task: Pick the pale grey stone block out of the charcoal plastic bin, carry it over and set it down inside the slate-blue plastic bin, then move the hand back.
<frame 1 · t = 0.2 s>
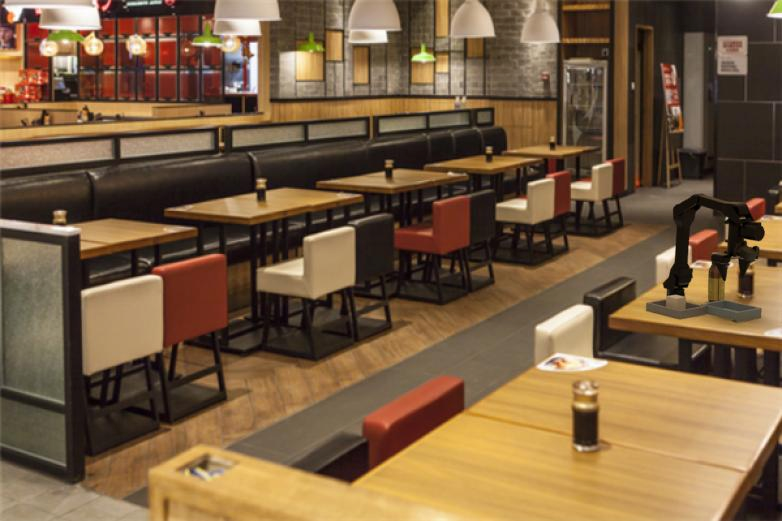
hand: (733, 279, 369), 14 cm above the table, fingers open, 9 cm apart
sauce bottle: (715, 303, 395), on the table
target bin: (730, 315, 375), on the table
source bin: (675, 313, 378), on the table
stone block: (675, 312, 378), point 1 cm above the table, touching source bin
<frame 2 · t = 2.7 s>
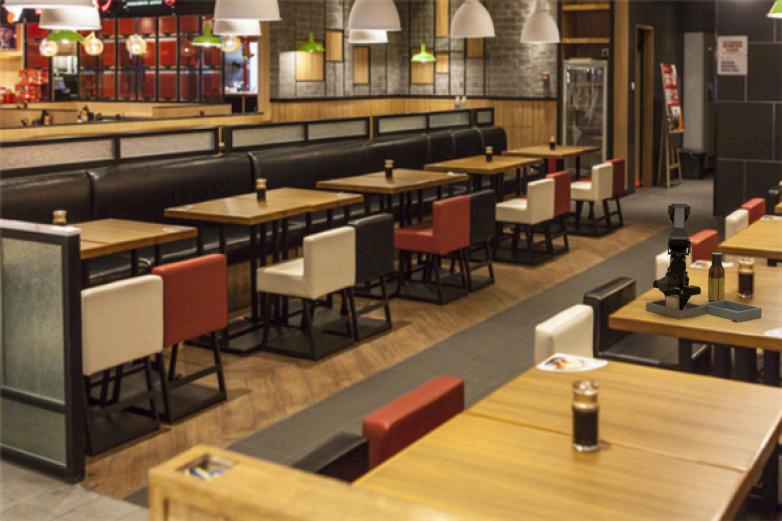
hand: (675, 309, 377), 2 cm above the table, fingers closed on stone block, 5 cm apart
stone block: (675, 312, 378), point 1 cm above the table, touching gripper, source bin
everything else where it was.
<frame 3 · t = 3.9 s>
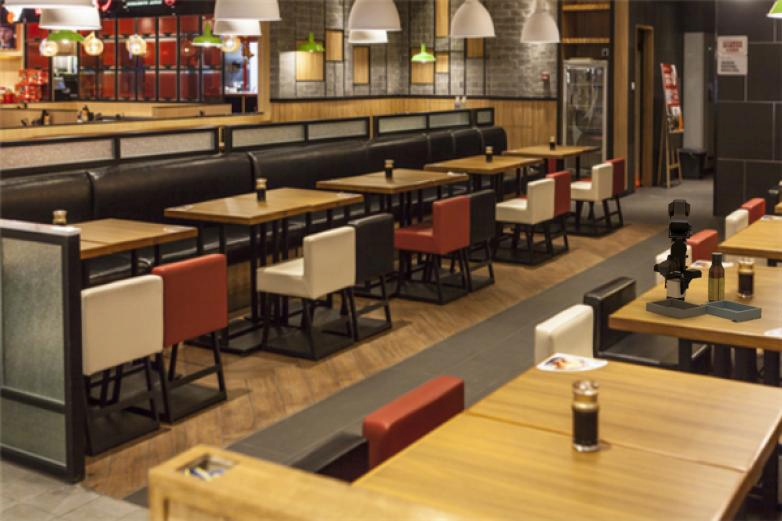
hand: (676, 293, 376), 8 cm above the table, fingers closed on stone block, 5 cm apart
stone block: (676, 296, 376), point 7 cm above the table, touching gripper
everything else where it was.
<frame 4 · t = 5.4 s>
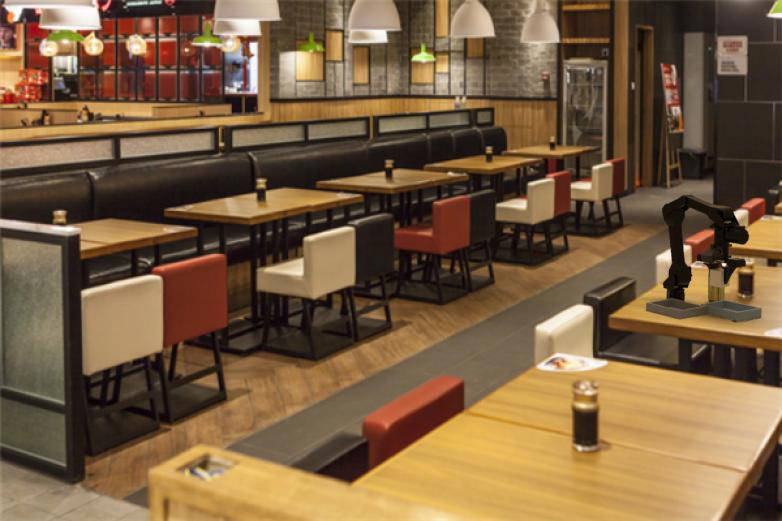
hand: (719, 283, 373), 12 cm above the table, fingers closed on stone block, 5 cm apart
stone block: (719, 285, 373), point 11 cm above the table, touching gripper
everything else where it was.
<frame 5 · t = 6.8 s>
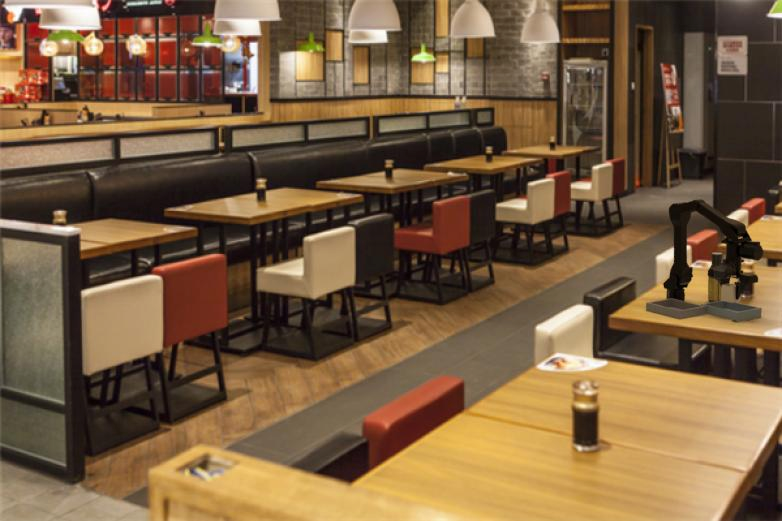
hand: (731, 298, 374), 7 cm above the table, fingers closed on stone block, 5 cm apart
stone block: (730, 300, 374), point 6 cm above the table, touching gripper
everything else where it was.
when the fingers open (3 cm above the table, at t = 7.9 s): stone block drops 1 cm, resting on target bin.
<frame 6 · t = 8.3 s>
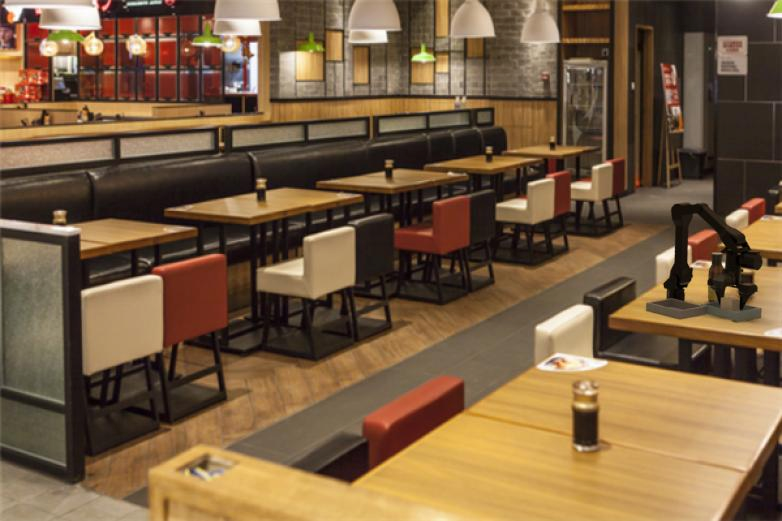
hand: (730, 307, 374), 3 cm above the table, fingers open, 9 cm apart
stone block: (730, 313, 375), point 1 cm above the table, touching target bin
everything else where it was.
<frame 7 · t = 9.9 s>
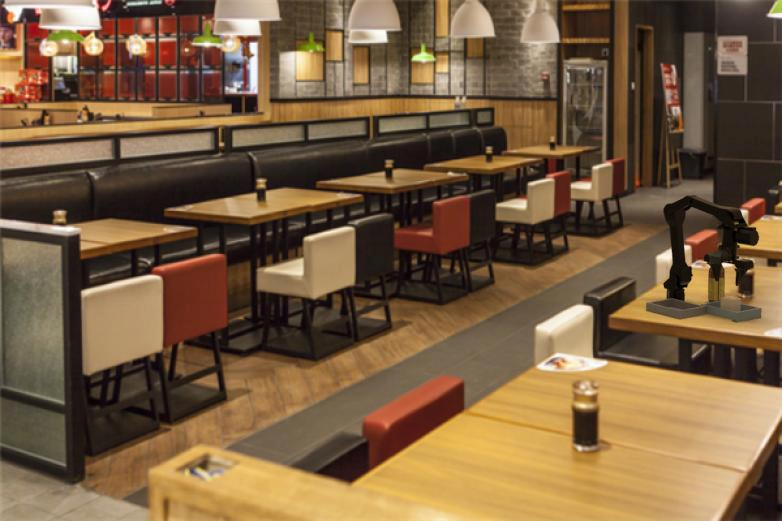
hand: (726, 283, 375), 12 cm above the table, fingers open, 9 cm apart
nothing on the table moved.
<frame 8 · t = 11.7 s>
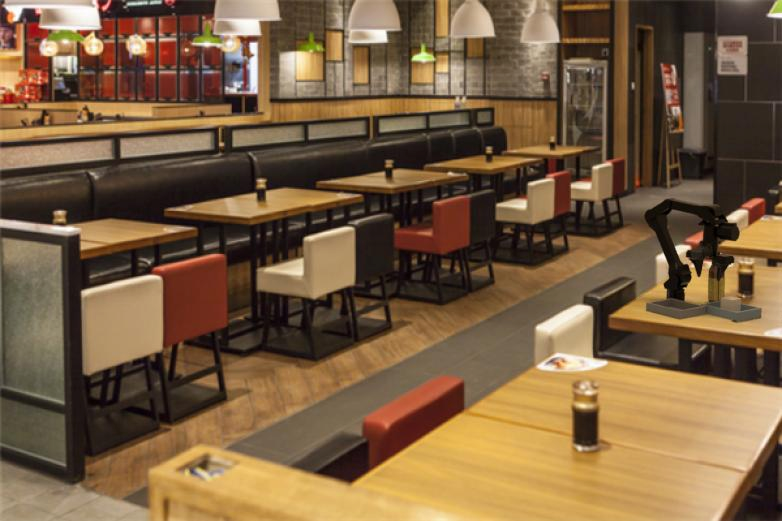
hand: (708, 278, 382), 12 cm above the table, fingers open, 9 cm apart
nothing on the table moved.
at the end: stone block inside the target area on the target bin (0.1 cm from its centre), point 0.6 cm above the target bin's base; stone block tilted 0°; the gripper is holding nothing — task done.
